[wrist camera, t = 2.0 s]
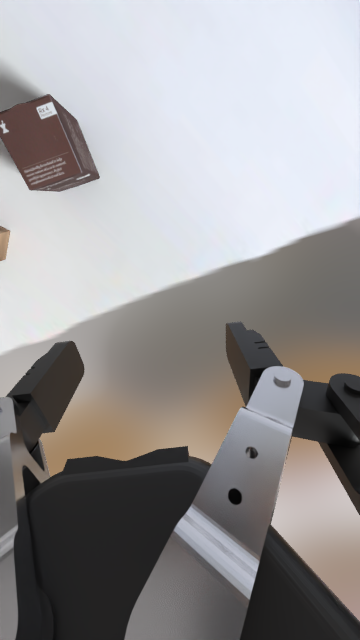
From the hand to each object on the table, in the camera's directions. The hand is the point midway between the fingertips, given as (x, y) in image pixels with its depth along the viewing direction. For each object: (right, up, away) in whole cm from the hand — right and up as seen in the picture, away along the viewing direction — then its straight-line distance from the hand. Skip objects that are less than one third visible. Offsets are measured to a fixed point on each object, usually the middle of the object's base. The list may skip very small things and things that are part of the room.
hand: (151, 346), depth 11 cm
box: (-12, +22, +15) cm, 29 cm away
